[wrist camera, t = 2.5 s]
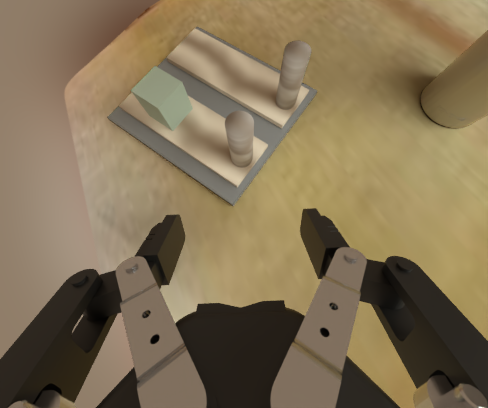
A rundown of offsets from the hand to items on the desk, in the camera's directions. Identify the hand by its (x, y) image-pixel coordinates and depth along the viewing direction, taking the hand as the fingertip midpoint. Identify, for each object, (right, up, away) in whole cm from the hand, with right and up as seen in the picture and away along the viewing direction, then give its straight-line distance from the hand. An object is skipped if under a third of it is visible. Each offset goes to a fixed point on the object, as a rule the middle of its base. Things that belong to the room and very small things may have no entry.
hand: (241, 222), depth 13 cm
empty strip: (-1, +23, +20) cm, 31 cm away
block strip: (-8, +14, +18) cm, 24 cm away
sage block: (-12, +16, +18) cm, 27 cm away
